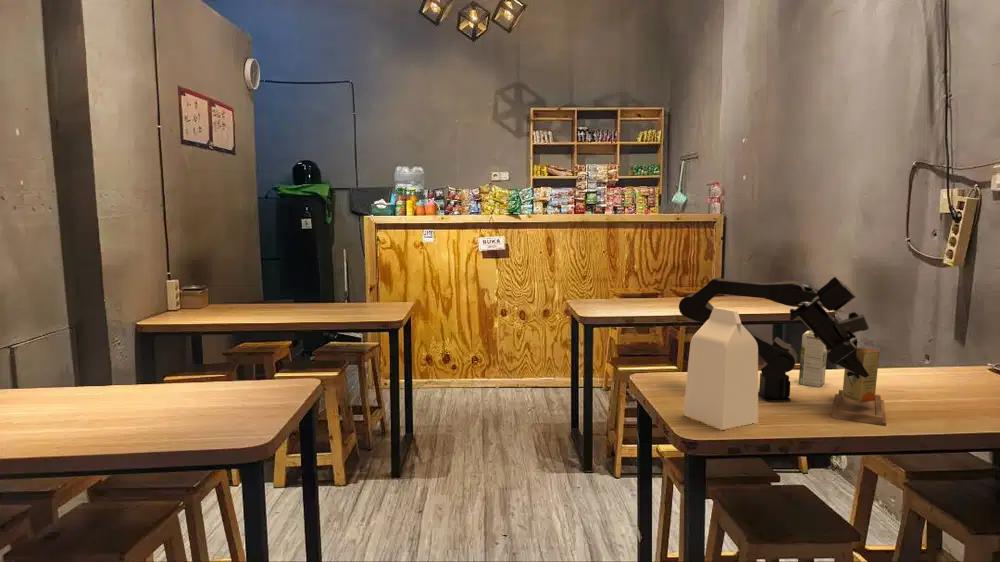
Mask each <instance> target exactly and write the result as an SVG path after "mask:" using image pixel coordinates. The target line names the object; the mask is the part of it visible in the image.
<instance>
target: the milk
mask: <svg viewBox="0 0 1000 562" xmlns="http://www.w3.org/2000/svg"><path fill="white" fill-rule="evenodd" d="M709 318H710V319H708V320H707V321H706V322H705V323H703V325H702V326H701V327H700V328H699V329H698V330H697V331H696V332H695V333H694V334H693V336H692V337H691V339H690V344H689V353H688V364H687V374H686V383H685V391H684V394H685V395H684V403H683V404H684V405H683V412H682V414H683V413H684V414H687V415H689V416H692V417H694V418H696V419H699V420H702V421H704V422H707V423H709V424H712V425H714V426H717V427H719V428H721V429H726V428H730V427H736V426H741V425H747V424H752V423H756V424H759V396H758V392H759V355H758V345H757V342H756V340H755V339H754V337H753V336H752V335H751V334H750V333H749V332H748V331H747V330H746V328H747V327H746V328H745V326H744V325H743V324H742V320H741V318H740V314H739V311H738V310H735V309H730V308H724V307H719V306H718V307H716V306H715V307H714V308H713V310H712V313H711V315H710V317H709ZM752 425H753V424H752Z"/></svg>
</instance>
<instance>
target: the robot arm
mask: <svg viewBox="0 0 1000 562" xmlns="http://www.w3.org/2000/svg"><path fill="white" fill-rule="evenodd" d="M719 294H720V295H727V296H728V295H730V296H740V297H750V298H759V299H765V300H769V301H772V302H774V303H778V304H780V305H781V304H782V305H785V306H788V307H796V306H797V308H790V310H789V313H790V315H789V317H790V318H789V320H790V321H791V322H793V321H794V320H795V319H797V318H799V319H800V320H801V321H802V322H803V323H804V325H806V327H807V328H808V329H809V331H812V332H813V333H814V334H813V335H814V336H815V337H816V338H817V337H818V338H819V340H820V341H821V342H822V343H823V344H824V345H825V346H826V349H827V359H826V360H828V361H829V362H830V363H831V365H836V366H839V367H842V368H844V369H845V368H846V369H848V370H850V371H852V372H854V373H856V374H858V375H860V376H862V377H864V378H866V377H868V376H869V374H868V372H867V371H866V369H865V368H864V366H863V365H862V363H861V362H860V360H859V359H858V357H857V348H858V338H857V334H856V333H858V332H861V331H862V332H864V331H867V330H869V328H870V325H869V324H868V321H867V319H866V316H865V315H864V314H859V313H858V312H856V311H852V312H850V313H848V318H845V319H844V320H838V318H836V317H832V316H831V315H830V314H829V313H828V312H827V311H829V312H830V311H831V312H832V311H835V312H838V311H839V310H841V309H842V308H843V307H844V306H846V305H847V304H849V303H850V302H851V301H852V300H854V299H856V298H857V297H856V294H854V292H853V291H852V290H851V289H850V288H849V287H848V286H847V285H846V284H845V283H843V282H842V281H841V280H839V278H838V277H837V276H833V277H832V278H830V280H829V281H828V282H827V283H825V284H824V285H823V286H822V287H820V288H819V289H817V288H812V287H807V286H804V285H803V283H801V282H800V281H798V280H797V281H796V280H788V281H774V282H760V281H759V282H758V281H748V280H737V279H728V278H727V279H725V278H721V277H714V278H712V279H711V280H710V281H709V282H708V283H707V284H706V285H705V286H703V287H702V288H700V289H699V290H698V291H696V293H690V294H689V295H687V296H685V297H683V298H681V300H680V301H679V303H678V309H679V310H678V311H679V313H680V314H681V315H682V316H683V317H685V318H687V319H690V320H692V321H695V322H698V323H702V324H704V323H705V322H706V321H707V320H708V319H710V318H709V317H710V315H711V313H712V310H713V308H715V307H714V306H713V305H712V304H711V303H710V301H711V300H712V299H714V298H715V297H717V295H719ZM815 298H816V299H815ZM810 301H812V302H810ZM802 302H803V303H802ZM807 302H810V303H809V304H808V303H807ZM819 302H820V303H819ZM801 303H802V304H801ZM799 304H801V305H799ZM798 305H799V306H798ZM824 308H825V309H826V310H827V311H826V310H825V309H824ZM744 327H745V326H744ZM745 328H746V330H747V331H748V332H749V333H750V334H751V335H752V336H753V337H754V339H755V340H756V342H757V345H758V357H760V358H761V359H762V360H763V362H764V363H763V365H762V367H761V369H760V373H759V385H758V397H759V398H761V399H762V400H764V401H766V402H791V401H792V398H791V397H790V396H791V380H790V375H788V374H787V373H789V372H791V371H792V370H793V369H794V368H795V366H796V363H797V360H798V355H797V352H796V350H795V349H794V348H793V347H792V343H791V344H790V343H787V342H785V341H783V340H782V339H781V338H780V337H777V336H776V337H775V339H774V340H771V339H767V338H764V337H763V336H761V335H760V334H758V333H756V332H754V331H752V330H750V329H749V328H747V327H745ZM852 339H853V340H852Z"/></svg>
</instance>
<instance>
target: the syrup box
mask: <svg viewBox="0 0 1000 562" xmlns="http://www.w3.org/2000/svg"><path fill="white" fill-rule="evenodd" d="M813 334H814V333H813V332H812V331H811V330H806V331H805V332H804V333H802V336H801V337H802V338H801V349H800V363H799V375H798V384H799V385H803V386H804V385H805V386H809V387H817V388H821V387H822V386H823V385H824V384H825V381H826V370H827V368H826V367H827V360H828V359H827V356H828V350H827V349H826V346H825V345H824V344H823V343H822V342H821V341H820V340H819V338H818V337H817V338H816V337H815V336H814V335H813Z"/></svg>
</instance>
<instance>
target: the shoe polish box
mask: <svg viewBox="0 0 1000 562" xmlns="http://www.w3.org/2000/svg"><path fill="white" fill-rule="evenodd" d="M857 357H858V359H859V360H860V362H861V363H862V365H863V366H864V368H865V369H866V371H867V372H868V374H869V376H868V377H866V378H864V377H862V376H860V375H858V374H856V373H854V372H852V371H850V370H848V369H846V368H844V373H843V374H844V375H843V382H842V384H843V385H842V390H843V393H842V397H845V398H848V399H851V400H854V401H857V402H867V401H875V394H876V389H877V378H878V368H879V367H878V366H879V360H880V359H879V357H880V352H879V351H877V350H873V349H869V348H865V347H857Z"/></svg>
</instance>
